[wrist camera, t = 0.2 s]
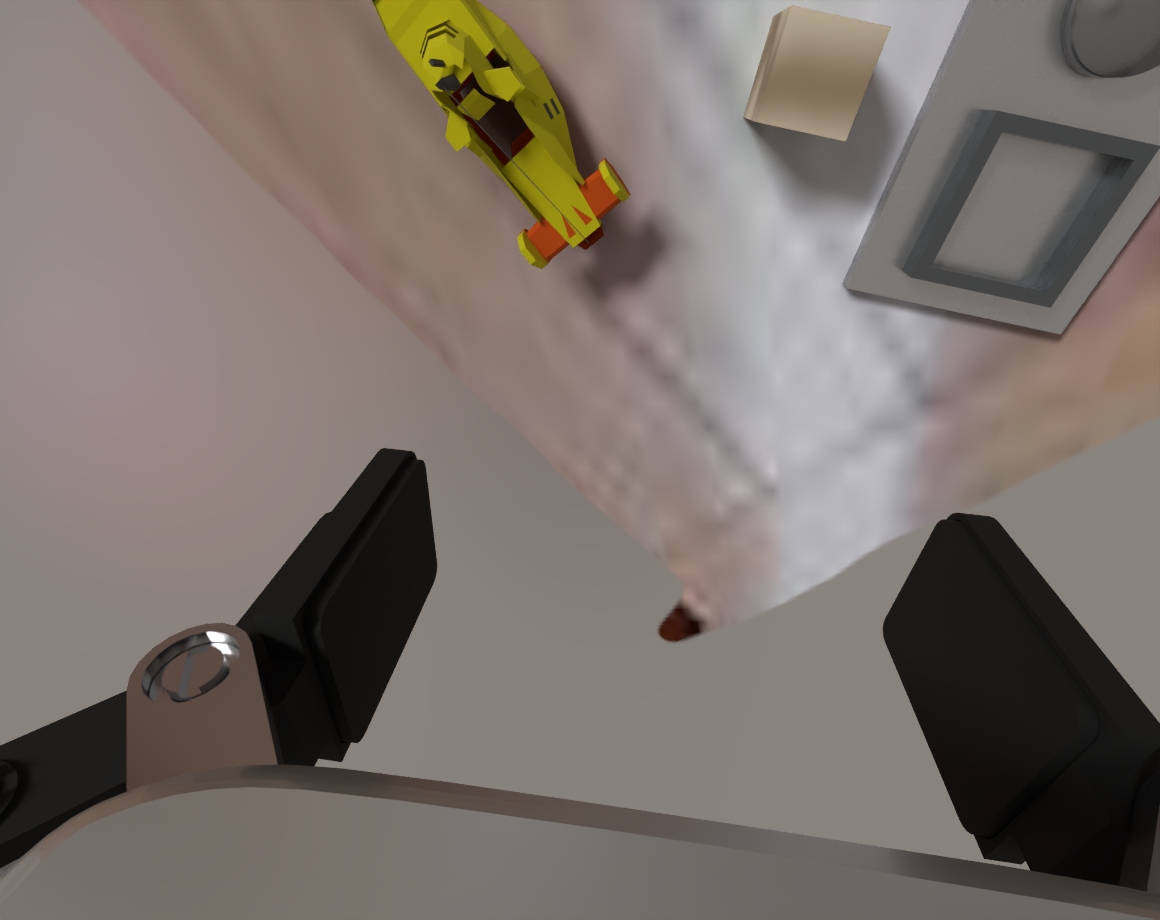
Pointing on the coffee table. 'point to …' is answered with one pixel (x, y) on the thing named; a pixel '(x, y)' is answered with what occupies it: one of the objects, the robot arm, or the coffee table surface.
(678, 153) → the coffee table surface
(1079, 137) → the carrier plate
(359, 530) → the robot arm
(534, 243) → the yellow toy car
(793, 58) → the block
